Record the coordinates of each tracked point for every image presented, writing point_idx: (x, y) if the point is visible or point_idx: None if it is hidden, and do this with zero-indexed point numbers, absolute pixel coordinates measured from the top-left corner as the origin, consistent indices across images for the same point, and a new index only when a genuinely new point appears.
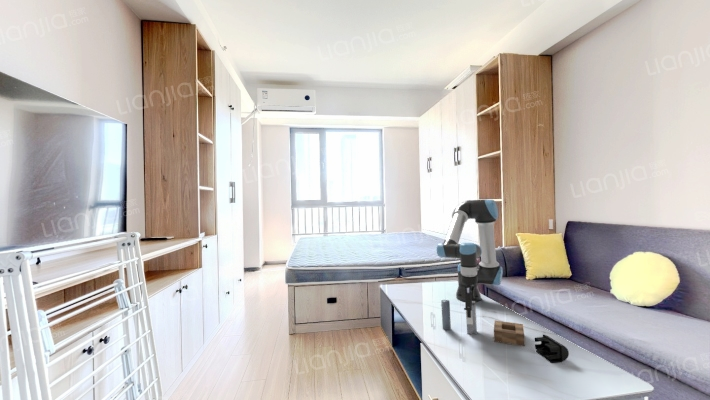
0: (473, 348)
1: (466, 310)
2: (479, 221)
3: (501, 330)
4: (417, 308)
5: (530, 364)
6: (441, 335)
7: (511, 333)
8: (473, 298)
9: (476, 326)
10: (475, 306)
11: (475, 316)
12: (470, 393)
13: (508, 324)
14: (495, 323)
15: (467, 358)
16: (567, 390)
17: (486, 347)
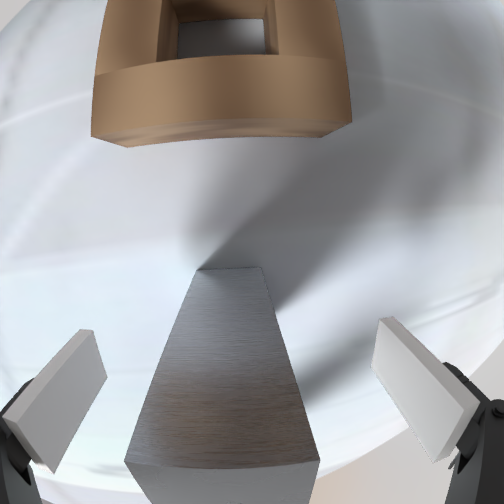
0: (438, 254)
1: (448, 446)
2: None
3: (321, 59)
4: (100, 497)
5: (454, 26)
6: (335, 420)
7: (333, 4)
8: (8, 466)
9: (198, 283)
10: (152, 413)
11: (242, 334)
12: None
13: (150, 19)
14: (162, 114)
15: (499, 264)
16: (499, 6)
17: (412, 187)
